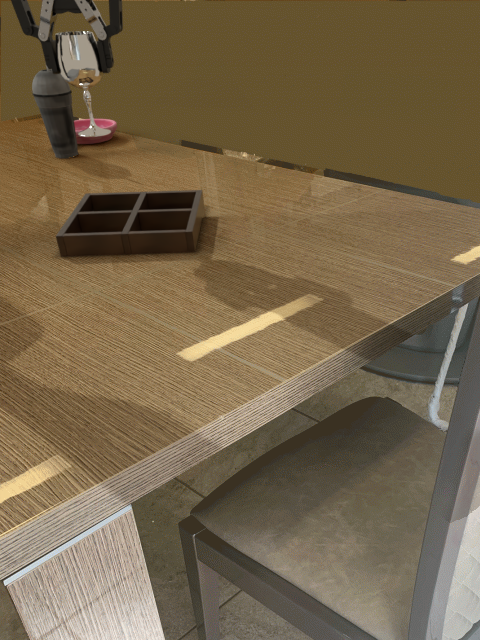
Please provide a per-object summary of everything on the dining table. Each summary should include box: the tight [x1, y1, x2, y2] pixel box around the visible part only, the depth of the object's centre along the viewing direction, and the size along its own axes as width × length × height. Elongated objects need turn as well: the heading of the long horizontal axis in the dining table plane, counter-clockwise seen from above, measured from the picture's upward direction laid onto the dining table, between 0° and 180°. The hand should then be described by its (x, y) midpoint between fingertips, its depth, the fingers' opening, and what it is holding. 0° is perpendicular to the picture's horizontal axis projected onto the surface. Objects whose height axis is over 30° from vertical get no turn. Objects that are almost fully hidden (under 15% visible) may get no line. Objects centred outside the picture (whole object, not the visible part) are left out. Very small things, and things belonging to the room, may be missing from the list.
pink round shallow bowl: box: [74, 118, 118, 145], centre depth 141 cm, size 12×12×3 cm
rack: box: [55, 189, 206, 258], centre depth 93 cm, size 18×18×4 cm
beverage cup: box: [31, 61, 79, 159], centre depth 125 cm, size 7×7×20 cm
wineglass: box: [54, 30, 111, 137], centre depth 86 cm, size 6×6×12 cm
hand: (82, 72), depth 85 cm, fingers closed on wineglass, 6 cm apart
